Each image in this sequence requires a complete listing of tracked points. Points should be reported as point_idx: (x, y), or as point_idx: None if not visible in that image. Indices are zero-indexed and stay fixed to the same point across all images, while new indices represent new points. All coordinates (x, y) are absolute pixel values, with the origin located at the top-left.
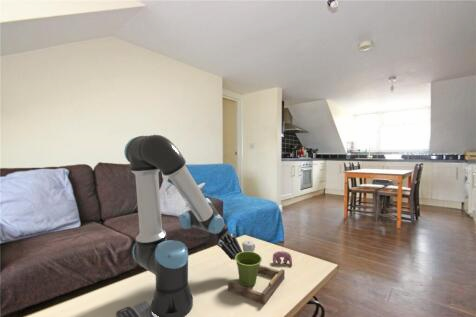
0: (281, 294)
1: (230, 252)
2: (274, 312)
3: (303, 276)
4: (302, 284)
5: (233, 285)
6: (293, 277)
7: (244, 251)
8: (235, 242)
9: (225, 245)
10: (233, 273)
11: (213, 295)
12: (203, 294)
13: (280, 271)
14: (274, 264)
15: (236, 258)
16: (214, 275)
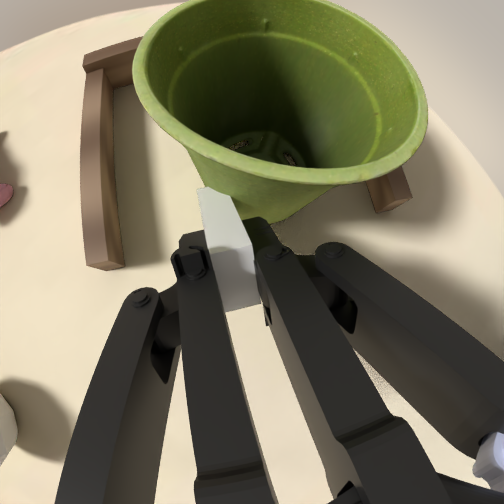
0: None
1: (402, 285)
2: None
3: (51, 61)
4: (107, 32)
5: None
6: (73, 72)
7: (15, 432)
8: (125, 456)
9: (493, 380)
10: (246, 324)
11: (453, 235)
12: (474, 275)
13: (108, 53)
14: (11, 187)
15: (391, 149)
16: None
